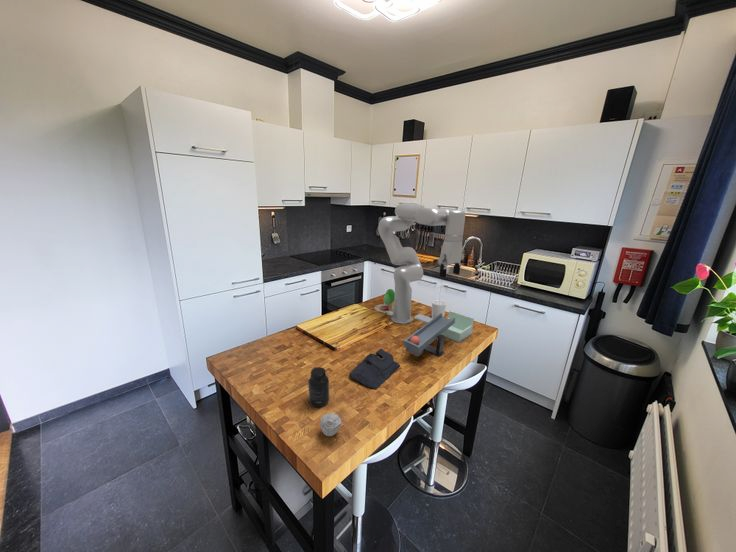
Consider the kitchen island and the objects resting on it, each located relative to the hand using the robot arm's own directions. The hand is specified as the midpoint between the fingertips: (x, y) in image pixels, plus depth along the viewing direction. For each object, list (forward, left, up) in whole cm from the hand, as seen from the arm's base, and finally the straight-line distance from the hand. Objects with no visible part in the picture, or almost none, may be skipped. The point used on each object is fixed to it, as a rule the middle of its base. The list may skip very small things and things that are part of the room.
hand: (449, 275), depth 132 cm
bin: (+6, +10, -34) cm, 36 cm away
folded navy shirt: (-27, -33, -34) cm, 55 cm away
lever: (-9, -8, -28) cm, 31 cm away
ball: (-12, -21, -25) cm, 34 cm away
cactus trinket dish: (-35, +33, -34) cm, 59 cm away
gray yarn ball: (-32, -68, -34) cm, 83 cm away
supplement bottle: (-41, -56, -34) cm, 77 cm away
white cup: (-3, +27, -34) cm, 43 cm away
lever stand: (-6, -10, -34) cm, 36 cm away
